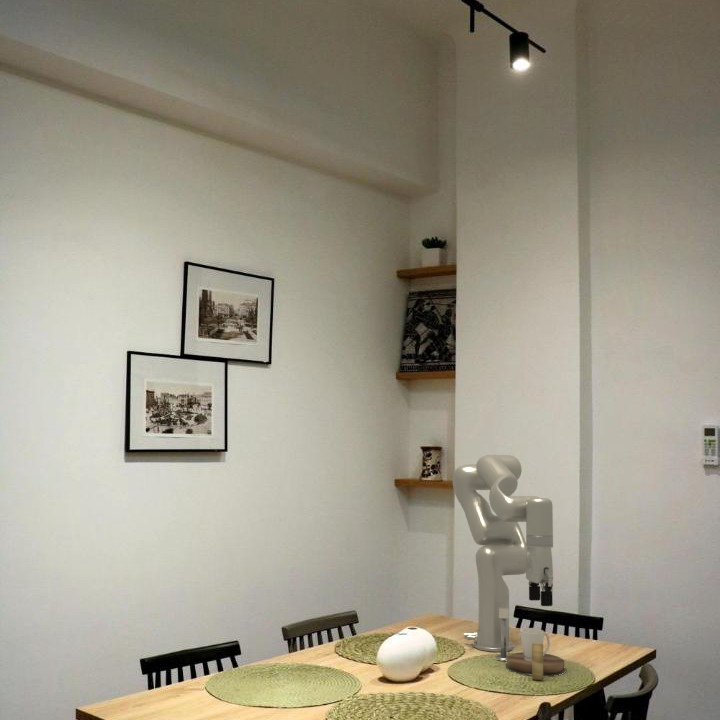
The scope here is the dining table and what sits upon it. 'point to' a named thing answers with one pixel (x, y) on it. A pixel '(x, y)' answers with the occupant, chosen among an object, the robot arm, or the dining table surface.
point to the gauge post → (503, 632)
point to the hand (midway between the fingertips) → (540, 603)
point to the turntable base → (531, 674)
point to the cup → (532, 641)
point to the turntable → (536, 662)
